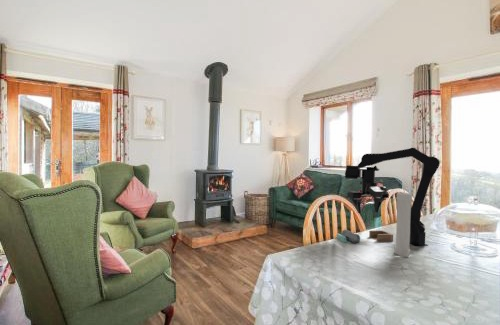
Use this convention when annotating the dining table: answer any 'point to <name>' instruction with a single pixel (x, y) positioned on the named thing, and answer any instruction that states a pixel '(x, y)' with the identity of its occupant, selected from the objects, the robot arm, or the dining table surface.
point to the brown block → (381, 235)
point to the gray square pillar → (403, 223)
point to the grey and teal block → (351, 236)
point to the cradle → (342, 238)
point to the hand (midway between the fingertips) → (367, 212)
